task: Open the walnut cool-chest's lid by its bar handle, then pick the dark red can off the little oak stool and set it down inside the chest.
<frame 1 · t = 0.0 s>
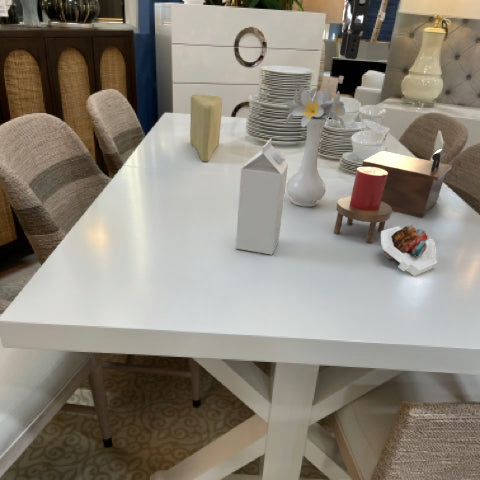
hand: (347, 57, 90), 31 cm above the table, tool pointing down, fingers open, 8 cm apart
cheese: (205, 153, 146), on the table
lid: (409, 156, 112), point 11 cm above the table, hinge at 0.0°
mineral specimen: (404, 261, 90), on the table
flower vase: (301, 202, 114), on the table
stool: (358, 232, 100), on the table
chest: (395, 202, 118), on the table
can: (364, 205, 96), point 6 cm above the table, touching stool
milk carton: (257, 246, 91), on the table
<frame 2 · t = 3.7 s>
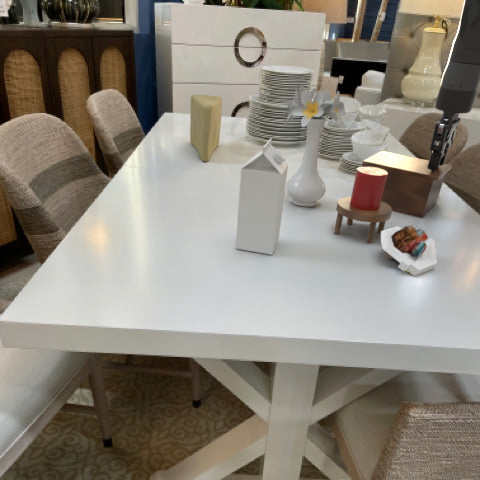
hand: (435, 166, 110), 10 cm above the table, tool pointing down, fingers closed on lid, 5 cm apart
lid: (409, 156, 112), point 11 cm above the table, hinge at 0.0°, touching gripper
everything else where it was.
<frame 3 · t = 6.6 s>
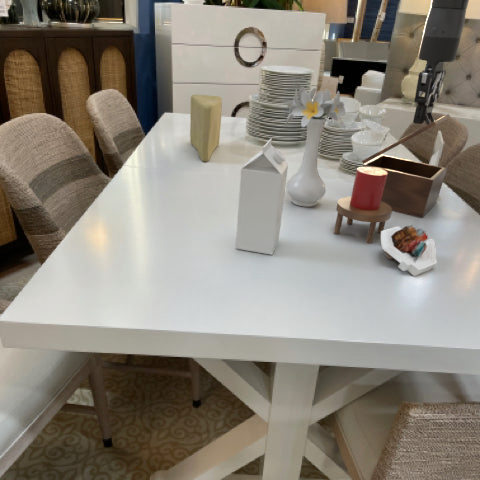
hand: (421, 121, 107), 19 cm above the table, tool pointing down, fingers closed on lid, 5 cm apart
lid: (402, 131, 111), point 16 cm above the table, hinge at 38.8°, touching gripper
everything else where it was.
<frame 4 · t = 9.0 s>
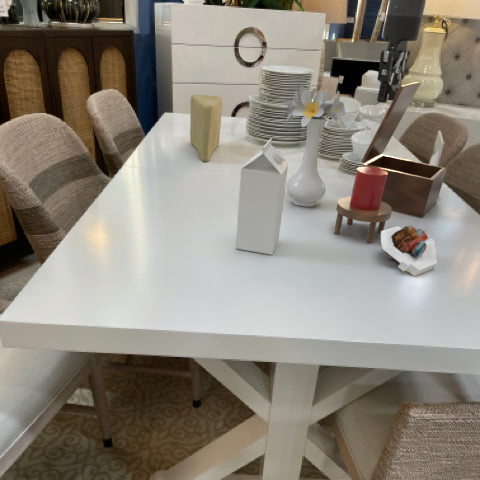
hand: (385, 100, 110), 22 cm above the table, tool pointing down, fingers closed on lid, 5 cm apart
lid: (383, 118, 112), point 18 cm above the table, hinge at 73.2°, touching gripper
everything else where it was.
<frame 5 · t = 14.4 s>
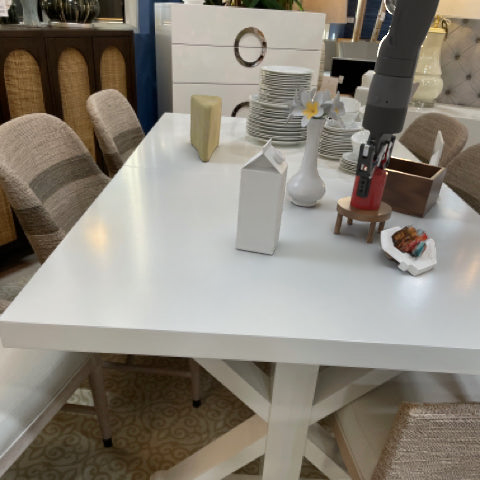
hand: (367, 192, 95), 9 cm above the table, tool pointing down, fingers closed on can, 6 cm apart
lid: (383, 118, 112), point 18 cm above the table, hinge at 73.6°
can: (364, 205, 96), point 6 cm above the table, touching gripper, stool
everything else where it was.
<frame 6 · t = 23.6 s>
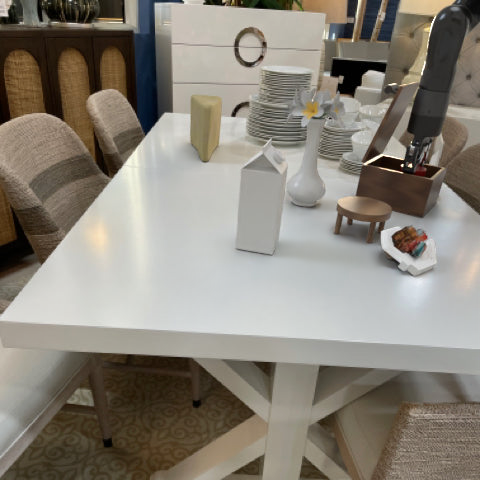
hand: (409, 185, 115), 5 cm above the table, tool pointing down, fingers closed on can, 6 cm apart
can: (406, 196, 116), point 2 cm above the table, touching gripper
everything else where it was.
when the fingers open (5 cm above the table, at t = 27.9 s): can stays where it is, resting on chest.
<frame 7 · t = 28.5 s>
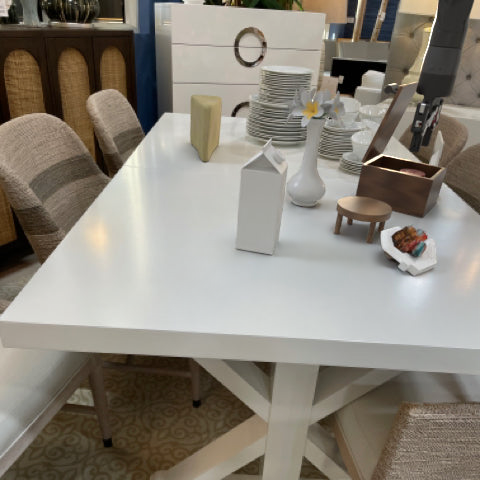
hand: (419, 148, 110), 13 cm above the table, tool pointing down, fingers open, 8 cm apart
can: (404, 200, 117), point 1 cm above the table, touching chest
everything else where it was.
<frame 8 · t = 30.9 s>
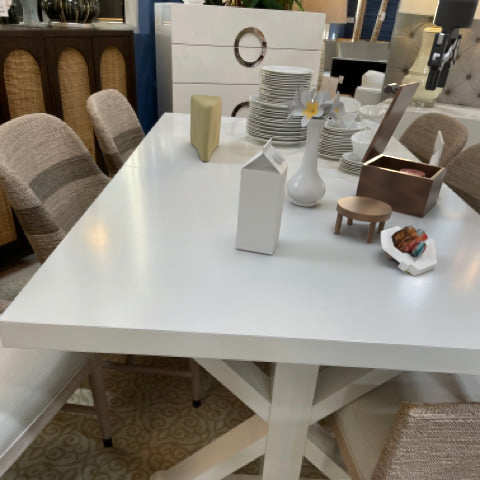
hand: (434, 88, 103), 26 cm above the table, tool pointing down, fingers open, 8 cm apart
nothing on the table moved.
at the end: lid at +74° (first picture: +0°); can inside the target area in the chest (2.0 cm from its centre), point 0.9 cm above the chest's base; can tilted 0° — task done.
